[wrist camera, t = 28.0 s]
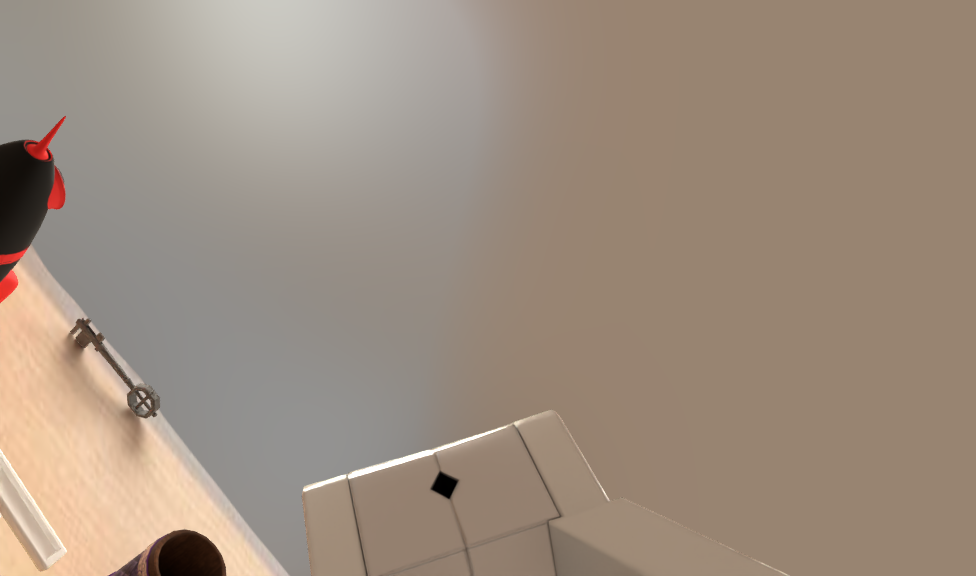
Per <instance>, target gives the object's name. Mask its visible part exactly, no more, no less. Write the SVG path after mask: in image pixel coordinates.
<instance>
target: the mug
mask: <svg viewBox="0 0 976 576" xmlns="http://www.w3.org/2000/svg"><path fill="white" fill-rule="evenodd" d="M109 576H226V566H225V563H224V560H223V558H222V555H221V553H220V552H219V550H218V549H217V547H216V546H215V545H214V544H213V543H212V542H211V541H210V540H209V539H208V538H207V537H205V536H203V535H201V534H199V533H197V532H195V531H190V530H178V531H173V532H171V533H170V534H167V535H165V536H163V537H161V538H159V539H158V540H156V541H155V542H154V543H152V544H151V545H149V547H148V548H147V549H146V550H145V551H143V552H142V553H141V554H139V555H138V556H137V557H135V558H134V559H133V560H131V561H130V562H129V563H127V564H126V565H125V566H123V567H122V568H121V569H119V570H118V571H117V572H114V573H112V574H110V575H109Z"/></svg>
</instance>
